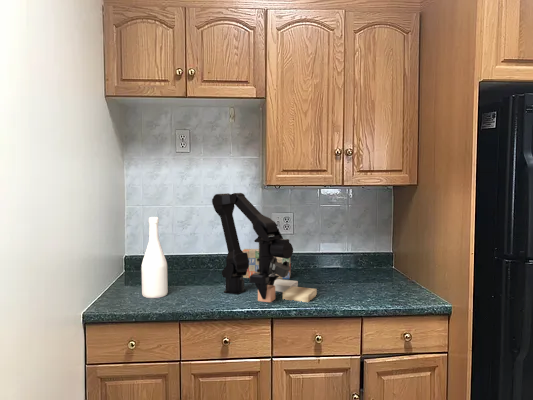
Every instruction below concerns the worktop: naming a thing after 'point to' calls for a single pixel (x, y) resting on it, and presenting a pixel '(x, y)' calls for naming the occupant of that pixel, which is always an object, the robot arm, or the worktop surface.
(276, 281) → the white plastic slab
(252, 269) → the stack of blocks
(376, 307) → the worktop surface
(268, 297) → the terracotta cube
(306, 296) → the birch slab
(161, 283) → the wine bottle
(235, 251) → the robot arm
